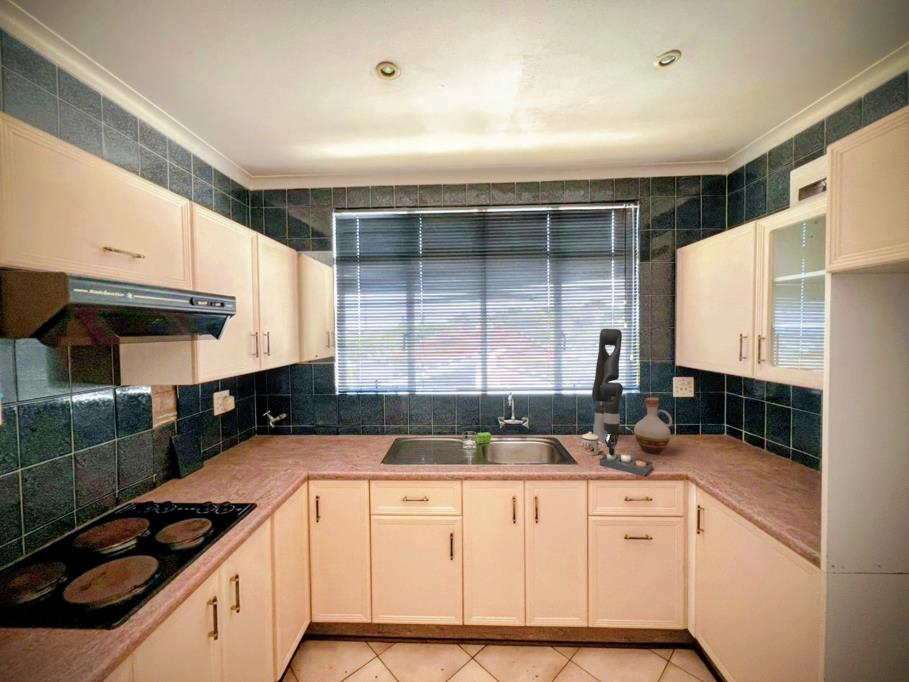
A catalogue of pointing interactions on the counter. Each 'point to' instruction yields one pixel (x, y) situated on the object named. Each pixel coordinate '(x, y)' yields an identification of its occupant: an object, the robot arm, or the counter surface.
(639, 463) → the orange rounded piece
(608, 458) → the sage button
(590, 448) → the teacup with lid
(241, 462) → the counter surface
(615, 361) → the robot arm
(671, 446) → the counter surface
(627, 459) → the ivory button
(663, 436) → the jug
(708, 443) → the counter surface
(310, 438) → the counter surface
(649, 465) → the panel
